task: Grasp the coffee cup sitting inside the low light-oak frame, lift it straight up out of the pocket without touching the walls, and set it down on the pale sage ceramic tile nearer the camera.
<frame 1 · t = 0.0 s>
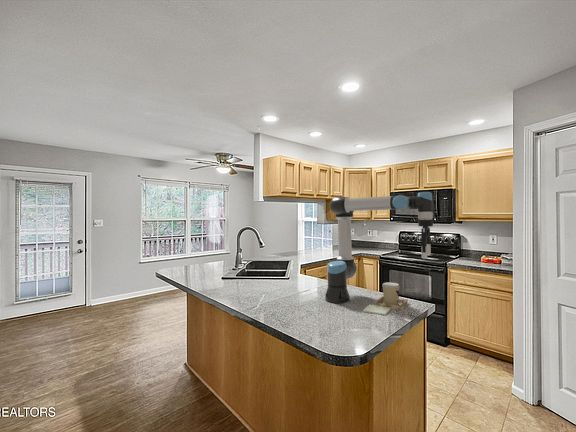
hand: (426, 256, 164), 28 cm above the countertop, fingers open, 13 cm apart
sage tile: (377, 310, 159), on the countertop
coffee cup: (391, 305, 168), resting in oak frame
oak frame: (391, 304, 168), on the countertop
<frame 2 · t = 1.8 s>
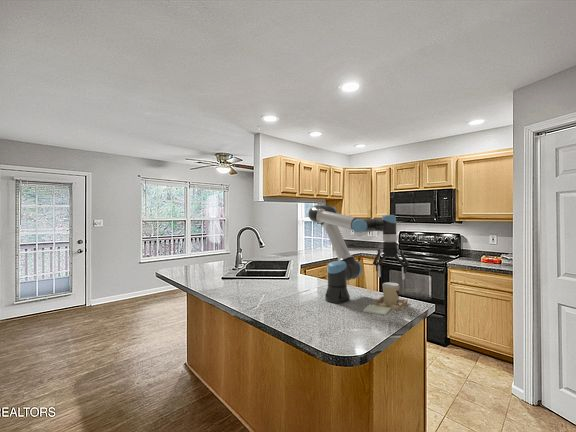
hand: (391, 278, 168), 16 cm above the countertop, fingers open, 13 cm apart
nothing on the countertop moved.
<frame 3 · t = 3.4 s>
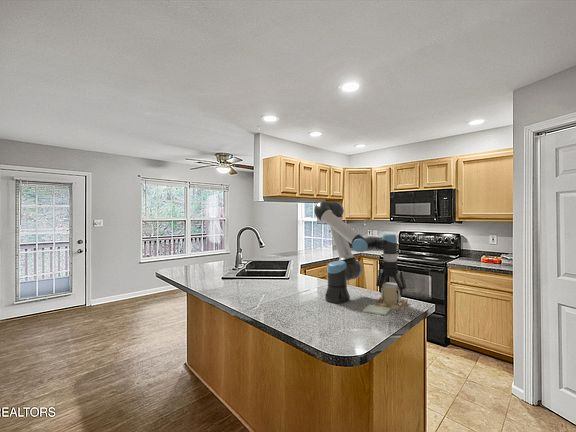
hand: (391, 299, 168), 3 cm above the countertop, fingers closed on coffee cup, 9 cm apart
coffee cup: (391, 305, 168), resting in oak frame, touching gripper
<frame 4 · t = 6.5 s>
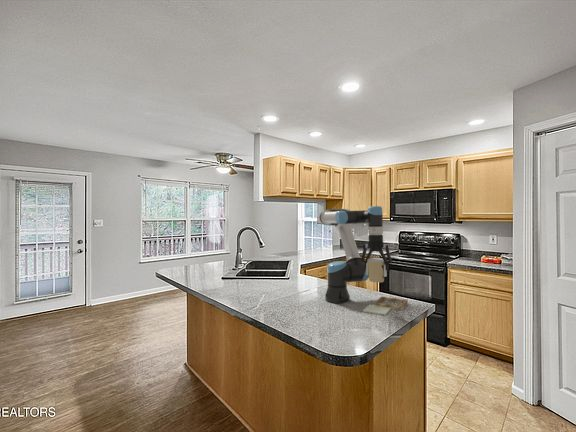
hand: (376, 275, 159), 19 cm above the countertop, fingers closed on coffee cup, 9 cm apart
coffee cup: (376, 281, 159), point 16 cm above the countertop, touching gripper
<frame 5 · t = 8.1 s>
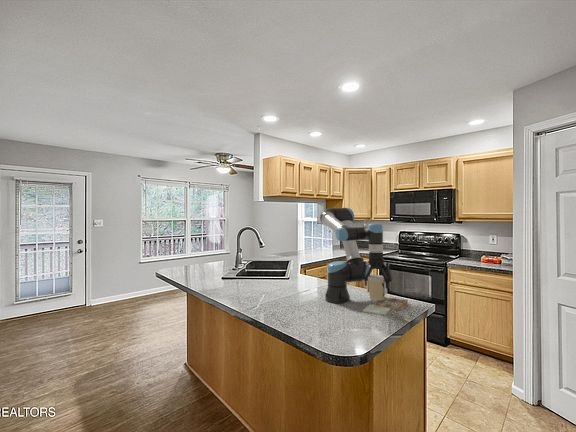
hand: (376, 292, 158), 10 cm above the countertop, fingers closed on coffee cup, 9 cm apart
coffee cup: (377, 298, 158), point 6 cm above the countertop, touching gripper
when the fingers open (5 cm above the countertop, at t = 9.5 s): coffee cup drops 1 cm, resting on sage tile.
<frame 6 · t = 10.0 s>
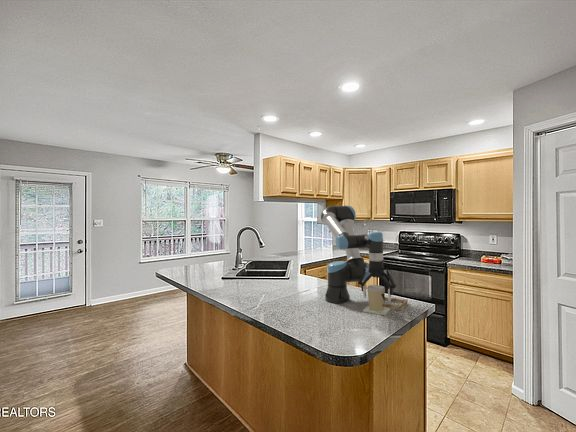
hand: (376, 299, 159), 6 cm above the countertop, fingers open, 13 cm apart
coffee cup: (376, 309, 159), point 1 cm above the countertop, touching sage tile
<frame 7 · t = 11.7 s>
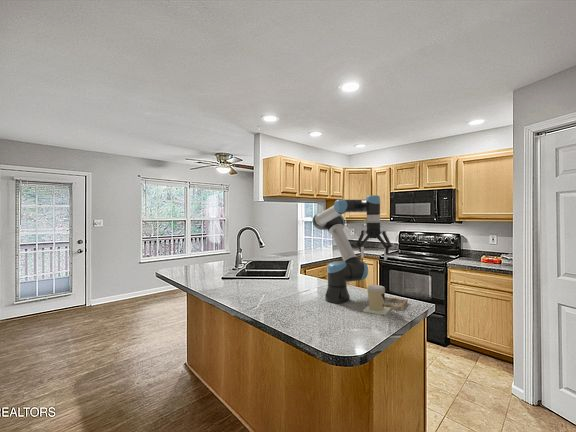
hand: (373, 258, 167), 27 cm above the countertop, fingers open, 13 cm apart
nothing on the countertop moved.
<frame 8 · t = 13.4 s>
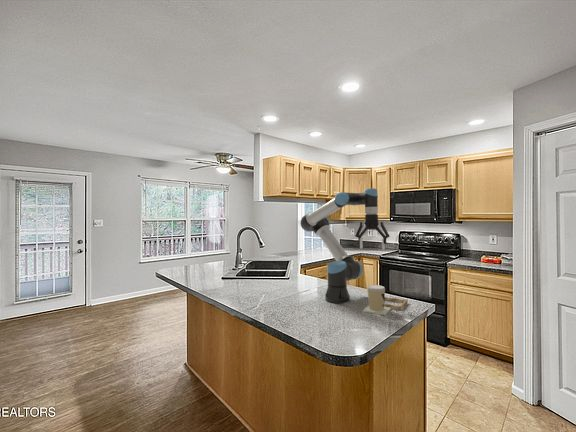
hand: (372, 249, 176), 32 cm above the countertop, fingers open, 13 cm apart
nothing on the countertop moved.
at the end: coffee cup inside the target area on the sage tile (0.3 cm from its centre), point 0.6 cm above the sage tile's base; coffee cup tilted 0°; the gripper is holding nothing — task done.
